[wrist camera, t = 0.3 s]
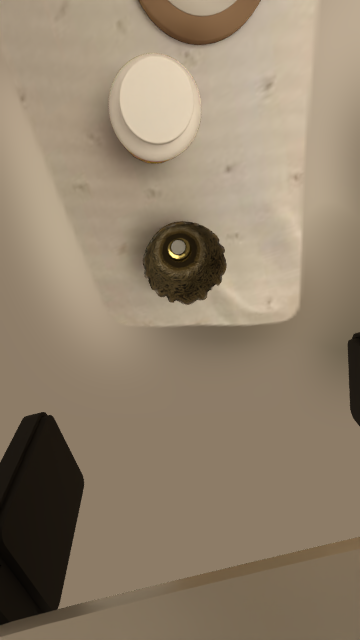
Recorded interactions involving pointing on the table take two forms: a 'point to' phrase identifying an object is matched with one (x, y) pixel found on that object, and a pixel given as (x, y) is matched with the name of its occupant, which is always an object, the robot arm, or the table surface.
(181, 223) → the brown scalloped shell
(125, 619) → the robot arm
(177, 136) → the supplement bottle
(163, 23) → the plate
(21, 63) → the table surface
